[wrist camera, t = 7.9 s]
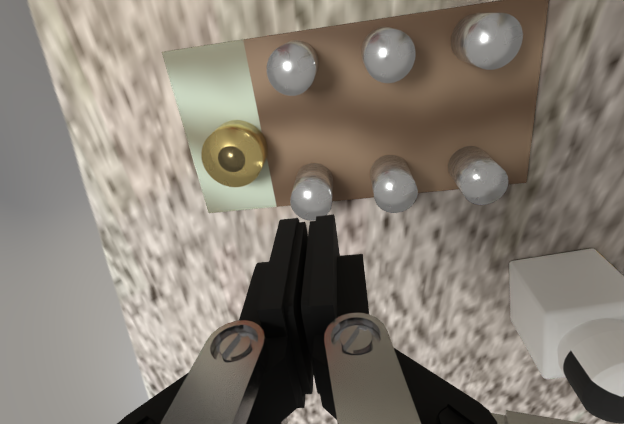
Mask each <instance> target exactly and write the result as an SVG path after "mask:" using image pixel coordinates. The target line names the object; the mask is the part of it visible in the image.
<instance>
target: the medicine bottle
mask: <svg viewBox="0 0 624 424" xmlns="http://www.w3.org/2000/svg"><path fill="white" fill-rule="evenodd" d="M509 285H510V319H511V321H512V323H513V325H514V327H515V328H516V330H517V332H518V334H519V336H520V337H521V339H522V341H523V343H524V345H525V346H526V348H527V350H528V352H529V354H530V355H531V357H532V359H533V361H534V363H535V364H536V366H537V368H538V370H539V372H540V373H541V375H542V377H543V378H545V379H555V378H564V377H566V378H567V380H568V381H569V383H570V385H571V386H572V388H573V389H574V391H575V393H576V394H577V396H578V398H579V399H580V401H581V402H582V404H583V406H584V407H585V409H586V410H587V411H588V412H589V413H591V414H592V415H594V416H595V417H598V418H600V419H602V420H605V421H609V422H613V423H624V275H622V274H621V273H620V272H619V271H618V270H617V269H616V268H615V267H614V266H613V265H612V264H611V263H610V262H608V261H607V260H606V259H605V258H604V257H603V256H602V255H601V254H600V253H599V252H598V251H597V250H595V249H592V248H591V249H584V250H578V251H572V252H565V253H559V254H553V255H546V256H540V257H534V258H527V259H521V260H515V261H511V262H510V263H509Z"/></svg>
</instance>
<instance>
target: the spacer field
mask: <svg viewBox="0 0 624 424" xmlns="http://www.w3.org/2000/svg"><path fill="white" fill-rule="evenodd" d="M522 39H523V32H522V27H521V25H520V23H519V21H518V20H517V19H516V18H515V17H513V16H512V15H509V14H506V13H474V14H470V15H468V16H466V17H464V18H463V19H462V20H460V21H459V23H458V24H457V25H456V26H455V28H454V30H453V32H452V35H451V48H452V51H453V53H454V55H455V56H456V57H457V58H458V59H460V60H462V61H464V62H467V63H469V64H472V65H475V66H477V67H480V68H482V69H486V70H494V69H498V68H501V67H503V66H505V65H506V64H508V63H509V62H510V61H511V60H512V59H513V58H514V57H515V56H516V55H517V53H518V51H519V49H520V47H521V44H522ZM361 57H362V60H363V63H364V65H365V67H366V69H367V71H368V73H369V74H370V75H371V76H372V77H373V78H374V79H375V80H377V81H379V82H382V83H394V82H397V81H399V80H401V79H402V78H404V77H405V76H406V75H407V74H408V73H409V72H410V70H411V69H412V67H413V64H414V61H415V47H414V44H413V42H412V40H411V38H410V37H409V36H408V35H407V34H406V33H404V32H402V31H400V30H397V29H393V28H389V27H380V28H377V29H375V30H373V31H372V32H370V33H369V34H368V35H367V37H366V38H365V40H364V42H363V44H362V48H361ZM317 70H318V57H317V54H316V52H315V50H314V49H313V47H312V46H311V45H309V44H308V43H306V42H304V41H301V40H293V41H290V42H287V43H286V44H284V45H282V46H280V47H278V48H277V49H275V50H274V51H273V52H272V54H271V55H270V57H269V59H268V62H267V76H268V79H269V82H270V83H271V85H272V86H273V87H274V89H276V90H277V91H278V92H280V93H281V94H284V95H288V96H296V95H299V94H302V93H304V92H305V91H306V90H307V89H308V88H309V87H310V86H311V84H312V82H313V80H314V78H315V75H316V73H317ZM448 172H449V174H450V176H451V177H452V179H453V180H454V182H455V183H456V185H457V186H458V187H459V189H460V190H461V192H462V193H463V195H464V196H465V198H466V199H467V200H468V201H470V202H471V203H473V204H477V205H486V204H490V203H493V202H495V201H496V200H498V199H499V198H500V197H501V196H502V195H503V194H504V193H505V191H506V189H507V187H508V176H507V174H506V172H505V171H504V170H503V169H502V168H501V167H500V166H499V165H498V164H497V163H496V162H495V161H494V160H493V159H492V158H491V157H490V156H489V155H488V154H487V153H486V152H485V151H483V150H482V149H481V148H479V147H476V146H466V147H463V148H461V149H459V150H457V151H456V152H455V153H454V154H453V155H452V156H451V158H450V160H449V163H448ZM370 177H371V182H372V188H373V193H374V198H375V201H376V203H377V205H378V206H379V207H380V208H381V209H382V210H384V211H387V212H390V213H399V212H403V211H405V210H407V209H408V208H410V207H411V206H412V205H413V204H414V202H415V201H416V198H417V194H418V190H417V186H416V184H415V181H414V179H413V177H412V175H411V172H410V170H409V168H408V166H407V163H406V162H405V161H404V160H403V159H402V158H401V157H399V156H396V155H385V156H382V157H380V158H379V159H377V160H376V161H375V162H374V163H373V165H372V167H371V170H370ZM332 190H333V177H332V174H331V172H330V171H329V170H328V168H326V167H325V166H323V165H321V164H318V163H310V164H307V165H305V166H303V167H302V168H301V169H300V170H299V171H298V173H297V176H296V179H295V183H294V187H293V191H292V194H291V199H290V203H291V207H292V209H293V211H294V212H295V214H296V215H298V216H299V217H301V218H303V219H305V220H316V216H324V215H327V214H328V212H329V211H330V209H331V206H332Z"/></svg>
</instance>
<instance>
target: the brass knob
mask: <svg viewBox="0 0 624 424" xmlns="http://www.w3.org/2000/svg"><path fill="white" fill-rule="evenodd" d="M267 155H268V146H267V142H266V139H265V137H264V135H263V134H262V133H261V131H260V130H259V129H258V128H257V127H255V126H254V125H252V124H251V123H248V122H246V121H242V120H231V121H228V122H225V123H223V124H222V125H220V126H219V127H218V128H217V129H216V130H215V131H214V132H213V133H212V134H211V135H210V136H209V137H208V138H207V139H206V140H205V142H204V144H203V146H202V151H201V158H202V163H203V166H204V168H205V170H206V171H207V173H208V174H209V175H210V176H211V177H212V178H213V179H214V180H215V181H217V182H218V183H220V184H222V185H225V186H228V187H242V186H246V185H248V184H250V183H251V182H253V181H254V180H255V179H256V178H257V176H258V175H259V173H260V171H261V169H262V167H263V165H264V163H265V161H266V159H267Z"/></svg>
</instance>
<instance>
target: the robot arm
mask: <svg viewBox="0 0 624 424" xmlns="http://www.w3.org/2000/svg"><path fill="white" fill-rule="evenodd" d="M313 375H314V378H315V383H316V388H317V392H318V394H320V396H321V401H322V406H323V408H324V409H326V410H327V411H328V412H329V413H330V414H331V415H332V416H333V417H334V418H335V419H336V420H337V422H338V424H585V423H579V422H573V421H567V420H561V419H555V418H549V417H543V416H537V415H531V414H526V413H520V412H514V411H508V410H506V415H500V414H494V413H490V411H489V410H488V409H486V408H485V407H484V406H483V405H482V404H480V403H479V402H478V401H476V400H475V399H473V398H471V397H470V396H468V395H467V394H465V393H464V392H462V391H461V390H459V389H457V388H456V387H454V386H453V385H451V384H450V383H448V382H446V381H445V380H443V379H442V378H440V377H439V376H437V375H436V374H434V373H432V372H431V371H429V370H428V369H426V368H425V367H423V366H421V365H420V364H418V363H417V362H415V361H414V360H412V359H411V358H409V357H407V356H406V355H404V354H403V353H401V352H400V351H398V350H396V349H395V348H393V345H392V342H391V340H390V337H389V334H388V331H387V329H386V327H385V326H384V324H383V323H382V322H381V321H380V320H379V319H377V318H376V317H374V316H371V315H369V309H368V299H367V290H366V281H365V272H364V263H363V254H356V255H344V256H340V254H339V247H338V239H337V231H336V223H335V216H334V215H324V216H316V221H310V225H309V234H307V228H306V224H305V222H299V219H298V218H293V219H283V220H280V221H279V225H278V229H277V233H276V237H275V241H274V245H273V249H272V253H271V257H270V261H269V262H261V263H257V264H256V266H255V269H254V272H253V276H252V279H251V282H250V286H249V289H248V292H247V296H246V299H245V302H244V306H243V309H242V312H241V316H240V319H239V321H234V322H231V323H227V324H225V325H224V326H222V327H220V328H218V329H217V330H216V331H215V332H213V333H212V334H211V336H210V337H209V338H208V340H207V341H206V343H205V345H204V346H203V348H202V350H201V352H200V353H199V355H198V357H197V359H196V361H195V362H194V364H193V366H192V368H191V370H190V371H189V373H187V374H186V375H184V376H183V377H181V378H180V379H179V380H177V381H176V382H174V383H173V384H171V385H170V386H169V387H167V388H166V389H164V390H163V391H161V392H160V393H158V394H157V395H156V396H154V397H153V398H151V399H150V400H148V401H147V402H146V403H144V404H143V405H141V406H140V407H138V408H137V409H136V410H134V411H133V412H131V413H130V414H128V415H127V416H126V417H124V418H123V419H122V420H121V421H120V422H119V423H117V424H288V420H287V417H288V416H289V415H290V414H291V413H292V412H293V411H294V410H295V409H297V408H304V406H305V394H312V391H313Z"/></svg>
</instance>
